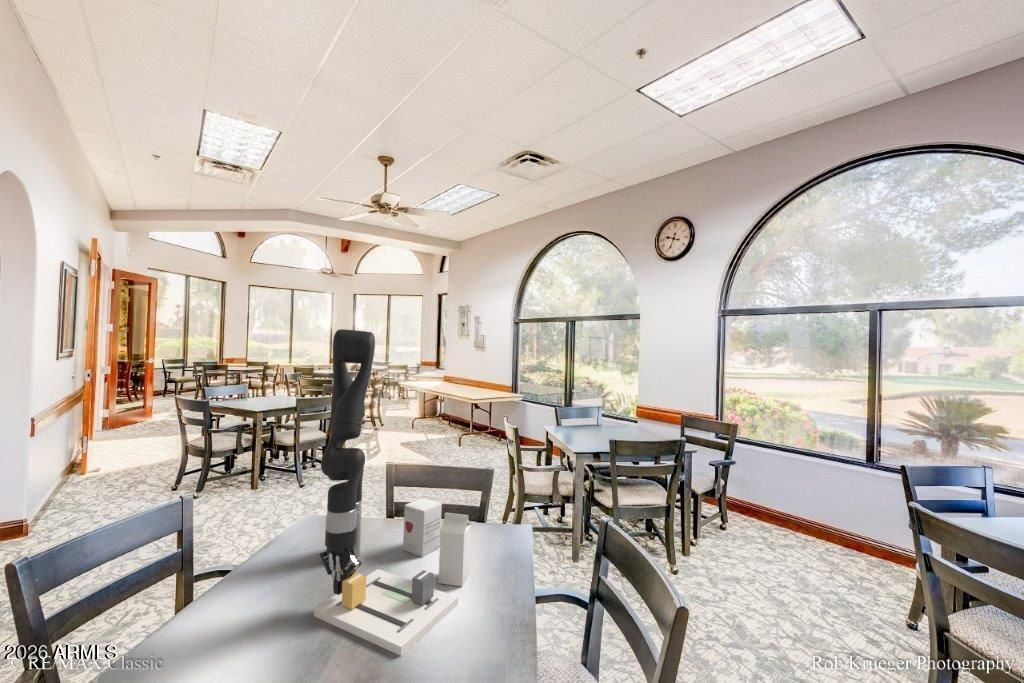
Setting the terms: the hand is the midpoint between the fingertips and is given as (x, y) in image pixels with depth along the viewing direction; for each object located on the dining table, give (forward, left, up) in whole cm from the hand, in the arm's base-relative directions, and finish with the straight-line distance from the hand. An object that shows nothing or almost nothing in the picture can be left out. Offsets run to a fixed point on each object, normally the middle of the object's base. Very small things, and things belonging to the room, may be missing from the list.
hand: (339, 592), depth 115 cm
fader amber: (+5, 0, -1) cm, 5 cm away
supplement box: (-2, +36, -4) cm, 36 cm away
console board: (+12, +5, -4) cm, 13 cm away
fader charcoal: (+19, +10, -1) cm, 22 cm away
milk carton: (+18, +26, -4) cm, 32 cm away
